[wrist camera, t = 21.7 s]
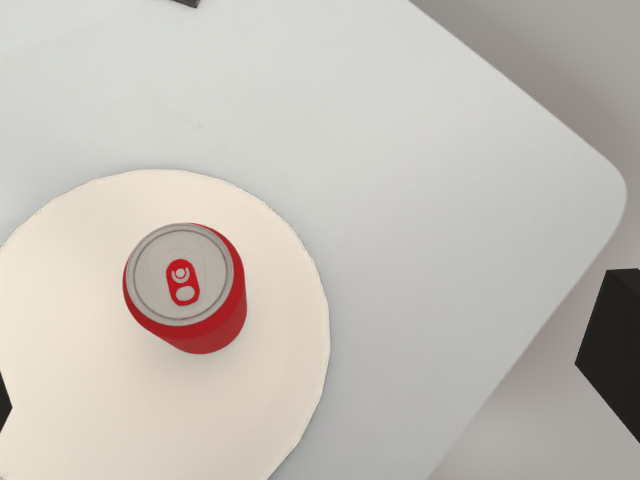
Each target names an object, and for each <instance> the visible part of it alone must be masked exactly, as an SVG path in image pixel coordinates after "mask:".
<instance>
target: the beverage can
mask: <svg viewBox="0 0 640 480" xmlns="http://www.w3.org/2000/svg"><path fill="white" fill-rule="evenodd" d="M122 287H123V295H124V299H125V302H126V305H127V307H128V309H129V311H130V313H131V314H132V316H133V317H134V319H135V320H136V321H137V322H138V323H139V324H140V325H141V326H142V327H144V328H145V329H146V330H148V331H149V332H151V333H152V334H154V335H156V336H157V337H159V338H161V339H162V340H164V341H166V342H167V343H169V344H170V345H172V346H174V347H175V348H177V349H179V350H181V351H183V352H186V353H190V354H208V353H213V352H216V351H218V350H221V349H222V348H224V347H226V346H227V345H229V344H230V343H231V342H232V341H233V340H234V339H235V338H236V337H237V336H238V334H239V333H240V331H241V330H242V328H243V325H244V323H245V320H246V315H247V298H246V286H245V274H244V267H243V263H242V260H241V258H240V256H239V254H238V252H237V250H236V248H235V247H234V246H233V244H232V243H231V242H230V241H229V240H228V239H227V238H226V237H225V236H223V235H222V234H221V233H219V232H218V231H216V230H214V229H212V228H210V227H207V226H204V225H201V224H196V223H173V224H169V225H165V226H162V227H160V228H157V229H155V230H154V231H152V232H150V233H149V234H148V235H146V236H145V237H144V238H143V239H142V240H141V241H140V242H139V243H138V244H137V245H136V247H135V248H134V249H133V251H132V253H131V254H130V256H129V258H128V260H127V262H126V265H125V268H124V272H123V280H122Z"/></svg>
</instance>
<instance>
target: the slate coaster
mask: <svg viewBox="0 0 640 480" xmlns="http://www.w3.org/2000/svg"><path fill="white" fill-rule="evenodd" d="M174 1H177V2H180V3H183V4H186V5H189V6H192V7H195V8H196V7H197V5H198V3H199V1H200V0H174Z"/></svg>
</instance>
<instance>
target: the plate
mask: <svg viewBox="0 0 640 480" xmlns="http://www.w3.org/2000/svg"><path fill="white" fill-rule="evenodd" d="M173 223H196V224H201V225H204V226H207V227H210V228H212V229H214V230H216V231H218V232H219V233H221V234H222V235H223V236H225V237H226V238H227V239H228V240H229V241H230V242H231V243H232V244H233V246H234V247H235V248H236V250H237V252H238V254H239V256H240V258H241V260H242V263H243V267H244V274H245V286H246V298H247V315H246V320H245V323H244V325H243V328H242V330H241V331H240V333H239V334H238V336H237V337H236V338H235V339H234V340H233V341H232V342H231V343H230V344H229V345H227V346H226V347H224V348H222V349H221V350H218V351H216V352H213V353H208V354H190V353H186V352H183V351H181V350H179V349H177V348H175V347H174V346H172V345H170V344H169V343H167V342H166V341H164V340H162V339H161V338H159V337H157V336H156V335H154V334H152V333H151V332H149V331H148V330H146V329H145V328H144V327H142V326H141V325H140V324H139V323H138V322H137V321H136V320H135V319H134V317H133V316H132V314H131V313H130V311H129V309H128V307H127V305H126V302H125V299H124V295H123V287H122V280H123V272H124V268H125V265H126V262H127V260H128V258H129V256H130V254H131V253H132V251H133V249H134V248H135V247H136V245H137V244H138V243H139V242H140V241H141V240H142V239H143V238H144V237H145V236H146V235H148V234H149V233H150V232H152V231H154V230H155V229H157V228H160V227H162V226H165V225H169V224H173ZM330 352H331V347H330V326H329V306H328V303H327V300H326V297H325V293H324V290H323V287H322V284H321V281H320V278H319V274H318V271H317V268H316V265H315V263H314V262H313V260H312V259H311V257H310V255H309V254H308V252H307V251H306V249H305V248H304V246H303V244H302V243H301V241H300V240H299V238H298V237H297V235H296V233H295V232H294V230H293V229H292V228H291V227H290V226H289V225H288V224H287V223H286V222H285V221H284V220H283V219H281V218H280V217H279V216H278V215H277V214H276V213H275V212H274V211H273V210H272V209H271V208H270V207H268V206H267V205H266V204H265V203H264V202H263V201H262V200H260V199H258V198H257V197H255V196H253V195H251V194H249V193H247V192H245V191H244V190H242V189H240V188H238V187H236V186H234V185H232V184H231V183H229V182H227V181H225V180H221V179H218V178H214V177H210V176H206V175H202V174H198V173H194V172H190V171H186V170H162V169H138V170H133V171H129V172H124V173H120V174H115V175H111V176H106V177H102V178H98V179H94V180H92V181H90V182H88V183H85V184H83V185H81V186H79V187H77V188H75V189H73V190H71V191H69V192H67V193H65V194H63V195H61V196H59V197H56V198H54V199H52V200H51V201H50V202H48V203H47V204H46V205H45V206H44V207H42V208H41V209H40V210H39V211H37V212H36V213H35V214H34V215H32V216H31V217H30V218H29V219H27V220H26V221H25V222H24V223H22V224H21V225H20V226H19V227H18V228H16V229H15V230H14V231H13V233H12V234H11V235H10V236H9V238H8V239H7V240H6V242H5V243H4V244H3V246H2V247H1V248H0V372H1V375H2V378H3V380H4V383H5V386H6V389H7V392H8V395H9V398H10V401H11V404H12V407H13V408H12V410H11V412H10V414H9V416H8V418H7V420H6V422H5V424H4V427H3V429H2V431H1V433H0V476H1V477H2V478H3V479H4V480H267V479H268V478H269V477H270V475H271V474H272V473H273V472H274V471H275V470H276V468H277V467H278V466H279V465H280V464H281V463H282V461H283V460H284V459H285V458H286V457H287V456H288V454H289V453H290V452H291V451H292V450H293V449H294V447H295V446H296V445H297V444H298V443H299V441H300V439H301V437H302V435H303V433H304V431H305V429H306V427H307V425H308V423H309V421H310V419H311V417H312V415H313V413H314V411H315V409H316V407H317V405H318V403H319V401H320V399H321V395H322V390H323V386H324V381H325V376H326V371H327V367H328V362H329V357H330Z"/></svg>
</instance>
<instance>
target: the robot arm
mask: <svg viewBox="0 0 640 480" xmlns="http://www.w3.org/2000/svg"><path fill="white" fill-rule="evenodd" d="M575 365H576V366H577V367H578V368H579V370H580V371H581V372H582V373H583V375H584V376H585V377H586V378H587V380H589V382H590V383H591V384H592V386H593V387H594V388H595V389H596V391H597V392H598V393H599V394H600V395H601V397H602V398H603V399H604V400H605V402H606V403H607V404H608V405H609V406H610V408H611V409H612V410H613V411H614V413H615V414H616V415H617V416H618V417H619V419H620V420H621V421H622V422H623V423H624V425H625V426H626V427H627V428H628V430H629V431H630V432H631V433H632V434H633V436H634V437H635V438H636V439H637V441H638V442H639V443H640V270H639V269H637V268H636V269H616V270H607V271H606V274H605V277H604V279H603V282H602V285H601V288H600V291H599V294H598V297H597V300H596V303H595V306H594V308H593V311H592V314H591V317H590V320H589V323H588V326H587V329H586V332H585V335H584V338H583V341H582V343H581V346H580V349H579V352H578V355H577V358H576V361H575ZM12 408H13V407H12V404H11V401H10V398H9V395H8V392H7V389H6V386H5V383H4V380H3V378H2V375H1V372H0V433H1V431H2V429H3V427H4V424H5V422H6V420H7V418H8V416H9V414H10V412H11V410H12Z"/></svg>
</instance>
